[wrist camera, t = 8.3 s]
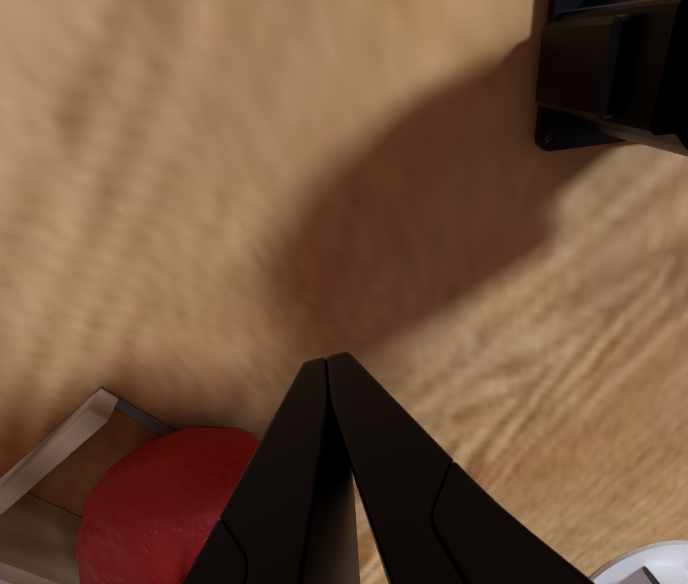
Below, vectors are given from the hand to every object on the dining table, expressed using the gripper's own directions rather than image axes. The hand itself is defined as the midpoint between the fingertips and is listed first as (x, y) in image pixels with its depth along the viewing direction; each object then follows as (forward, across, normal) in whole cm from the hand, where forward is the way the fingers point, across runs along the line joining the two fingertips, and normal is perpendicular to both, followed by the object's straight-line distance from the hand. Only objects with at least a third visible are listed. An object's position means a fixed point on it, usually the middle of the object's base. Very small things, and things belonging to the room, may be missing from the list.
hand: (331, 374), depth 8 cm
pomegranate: (+12, +10, +14) cm, 20 cm away
